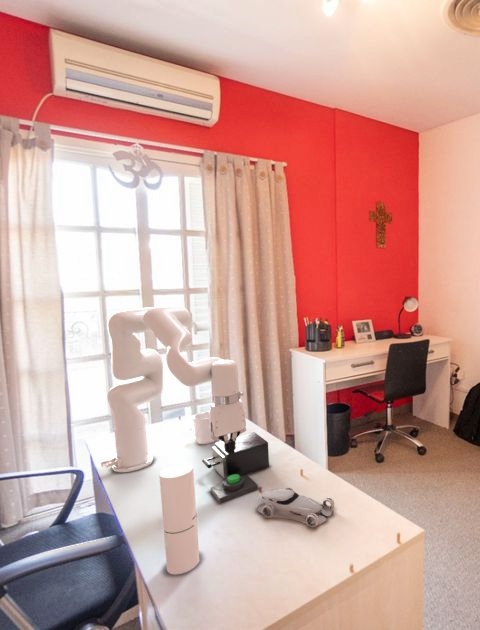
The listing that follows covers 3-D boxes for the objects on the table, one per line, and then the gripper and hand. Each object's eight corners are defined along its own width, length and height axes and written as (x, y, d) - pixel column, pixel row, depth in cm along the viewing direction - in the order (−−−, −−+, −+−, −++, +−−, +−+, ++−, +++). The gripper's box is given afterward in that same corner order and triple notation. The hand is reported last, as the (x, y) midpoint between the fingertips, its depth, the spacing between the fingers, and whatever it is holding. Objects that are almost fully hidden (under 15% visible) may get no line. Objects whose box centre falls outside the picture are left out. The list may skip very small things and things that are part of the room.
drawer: (210, 483, 141) (209, 461, 140) (200, 471, 149) (199, 450, 148) (262, 466, 153) (261, 445, 152) (250, 455, 161) (249, 436, 160)
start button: (230, 485, 135) (229, 480, 135) (226, 481, 138) (226, 476, 138) (241, 482, 138) (241, 477, 137) (237, 477, 140) (237, 473, 140)
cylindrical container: (204, 553, 108) (198, 463, 105) (190, 574, 101) (183, 477, 98) (176, 554, 108) (169, 463, 105) (160, 574, 101) (152, 478, 98)
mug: (191, 441, 175) (189, 416, 174) (211, 434, 182) (210, 410, 181) (205, 449, 168) (204, 422, 167) (226, 441, 175) (225, 416, 174)
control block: (220, 503, 131) (219, 493, 130) (210, 491, 137) (210, 481, 137) (257, 489, 139) (257, 479, 139) (247, 479, 145) (246, 469, 145)
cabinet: (228, 480, 144) (226, 454, 143) (216, 467, 153) (214, 443, 152) (269, 466, 154) (268, 442, 153) (255, 455, 163) (254, 431, 162)
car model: (317, 530, 118) (317, 514, 117) (248, 513, 126) (247, 497, 125) (337, 508, 128) (337, 493, 128) (272, 493, 136) (271, 479, 136)
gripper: (245, 391, 142) (248, 442, 144) (197, 401, 132) (202, 456, 134) (254, 396, 136) (257, 449, 139) (205, 407, 126) (209, 464, 129)
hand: (230, 452), depth 136 cm, fingers closed
